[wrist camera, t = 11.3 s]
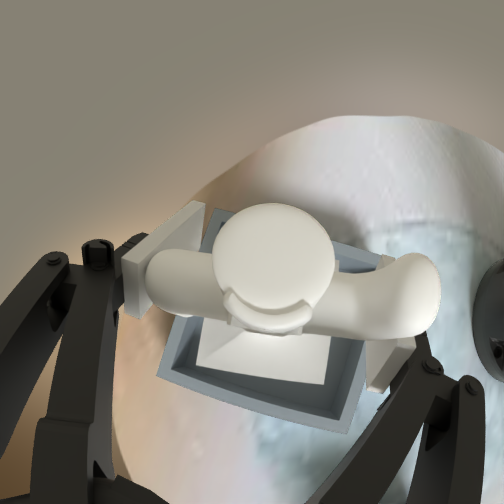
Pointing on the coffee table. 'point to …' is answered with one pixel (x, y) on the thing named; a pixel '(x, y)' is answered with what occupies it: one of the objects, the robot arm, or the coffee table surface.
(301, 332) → the figurine
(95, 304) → the robot arm
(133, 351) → the coffee table surface
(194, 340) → the tray
